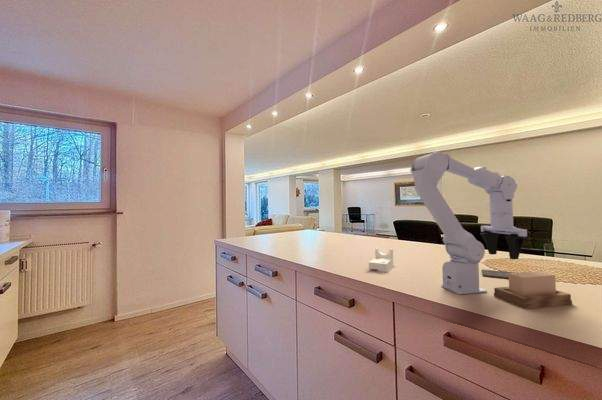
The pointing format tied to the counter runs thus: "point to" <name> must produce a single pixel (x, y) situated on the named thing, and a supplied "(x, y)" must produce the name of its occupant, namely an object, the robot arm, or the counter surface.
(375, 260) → the bracket
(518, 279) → the clay block
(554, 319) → the counter surface
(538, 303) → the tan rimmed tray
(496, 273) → the chocolate bar
